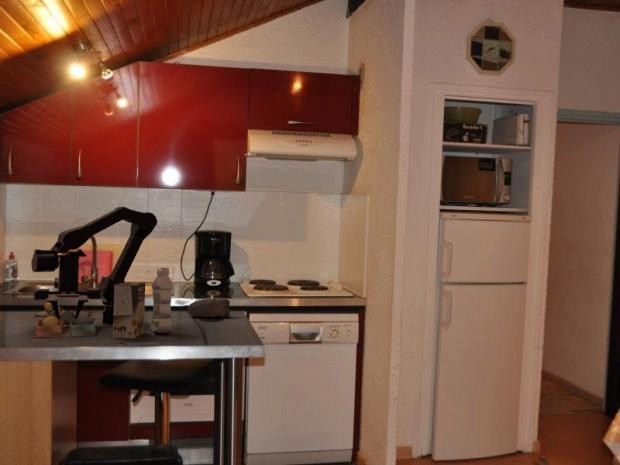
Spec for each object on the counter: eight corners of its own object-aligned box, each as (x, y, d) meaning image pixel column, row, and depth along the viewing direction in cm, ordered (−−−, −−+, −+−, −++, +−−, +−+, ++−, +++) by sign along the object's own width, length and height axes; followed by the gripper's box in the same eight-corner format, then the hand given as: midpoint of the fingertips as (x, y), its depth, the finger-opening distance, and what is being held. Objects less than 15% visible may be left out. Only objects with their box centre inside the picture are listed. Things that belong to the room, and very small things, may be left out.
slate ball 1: (75, 323, 183) (75, 309, 183) (74, 326, 179) (75, 312, 179) (59, 324, 181) (60, 310, 181) (59, 326, 177) (59, 312, 177)
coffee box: (134, 342, 166) (135, 285, 165) (111, 341, 166) (113, 284, 166) (144, 335, 175) (145, 282, 175) (123, 335, 175) (124, 281, 175)
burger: (69, 320, 197) (69, 298, 197) (31, 321, 194) (32, 298, 194) (75, 315, 209) (75, 294, 209) (39, 315, 206) (39, 294, 206)
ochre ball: (58, 329, 175) (59, 314, 174) (57, 332, 170) (58, 317, 170) (42, 330, 173) (42, 315, 173) (41, 332, 169) (41, 317, 169)
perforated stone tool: (186, 318, 210) (187, 298, 210) (188, 315, 215) (189, 297, 215) (228, 319, 210) (229, 300, 210) (229, 317, 215) (230, 298, 215)
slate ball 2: (90, 328, 178) (91, 314, 178) (90, 331, 174) (91, 316, 174) (75, 329, 176) (75, 314, 176) (74, 331, 172) (75, 316, 172)
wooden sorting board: (94, 326, 187) (95, 314, 187) (95, 338, 168) (96, 324, 168) (39, 328, 181) (40, 315, 181) (34, 340, 162) (34, 326, 162)
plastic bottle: (153, 335, 175) (155, 269, 175) (148, 331, 181) (150, 267, 181) (174, 334, 178) (176, 269, 178) (168, 330, 184) (170, 267, 184)
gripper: (100, 269, 191) (99, 317, 191) (37, 269, 184) (36, 318, 184) (101, 272, 180) (99, 322, 181) (34, 272, 174) (33, 324, 174)
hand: (67, 322), depth 180 cm, fingers closed on slate ball 1, 4 cm apart
